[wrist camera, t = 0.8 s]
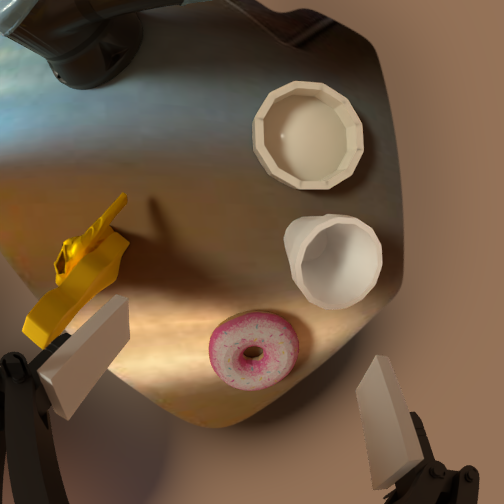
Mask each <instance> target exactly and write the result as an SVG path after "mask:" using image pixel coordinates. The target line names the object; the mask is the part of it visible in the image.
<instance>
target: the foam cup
mask: <svg viewBox="0 0 504 504" xmlns="http://www.w3.org/2000/svg"><path fill="white" fill-rule="evenodd" d="M284 244H285V249H286V253H287V256H288V259H289V263H290V267H291V273H292V279H293V280H294V282H295V283H296V285H297V286H298V287H299V289H300V290H301V291H302V293H303V294H304V296H305V297H306V298H307V300H308V301H309V302H310V303H313V304H315V305H317V306H319V307H321V308H324V309H326V310H329V309H345V308H347V307H349V306H351V305H353V304H355V303H357V302H359V301H361V300H363V298H364V297H365V296H366V295H367V294H368V293H369V292H370V290H371V289H372V288H373V287H374V286H375V284H376V282H377V279H378V277H379V274H380V271H381V268H382V247H381V244H380V242H379V240H378V238H377V236H376V234H375V233H374V231H373V229H372V228H371V227H369V226H368V225H366V224H365V223H363V222H362V221H360V220H358V219H357V218H354V217H351V216H348V215H335V214H327V215H324V216H309V217H301V218H299V219H296V220H294V221H293V222H292V223H291V224H290V225H289V226H288V228H287V229H286V232H285V236H284Z"/></svg>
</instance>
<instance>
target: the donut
mask: <svg viewBox="0 0 504 504" xmlns="http://www.w3.org/2000/svg"><path fill="white" fill-rule="evenodd" d="M252 346H257V347H260V348H262V349H263V353H262V354H261V355H260V356H258V357H254V358H250V357H246V356H245V355H244V354H243V352H244V351H245V350H246V349H247V348H248V347H252ZM298 353H299V341H298V338H297V334H296V333H295V331H294V329H293V328H292V326H291V324H289V323H288V322H287V321H286V320H285V319H284V318H282V317H280V316H279V315H277V314H273V313H270V312H264V311H247V312H243V313H238V314H236V315H234V316H231V317H229V318H228V319H226V320H225V321H223V322H222V323H220V324H219V325H218V326H217V328H216V329H215V330H214V331H213V333H212V335H211V337H210V342H209V358H210V362H211V365H212V367H213V369H214V371H215V372H216V374H217V375H218V376H219V377H220V378H221V379H222V380H223V381H224V382H226V383H227V384H229V385H230V386H232V387H234V388H237V389H241V390H248V391H251V390H260V389H264V388H267V387H270V386H272V385H274V384H276V383H278V382H279V381H281V380H282V379H283V378H284V377H286V376H287V375H288V374H289V372H290V371H291V370H292V369H293V367H294V365H295V363H296V360H297V358H298Z"/></svg>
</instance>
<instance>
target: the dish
mask: <svg viewBox="0 0 504 504" xmlns="http://www.w3.org/2000/svg"><path fill="white" fill-rule="evenodd" d="M252 130H253V131H252V141H253V150H254V153H255V154H256V156H257V158H258V160H259V162H260V164H261V165H262V166H263V168H264V169H265V170H266V172H267V173H268V175H270V176H271V177H273V178H275V179H276V180H278V181H279V182H281V183H283V184H286V185H288V186H289V187H291V188H293V189H330V188H332V187H333V186H335V185H337V184H338V183H340V182H341V181H343V180H345V179H346V178H348V177H350V176H351V175H352V174H353V172H354V170H355V168H356V166H357V164H358V162H359V160H360V158H361V156H362V154H363V152H364V145H363V128H362V122H361V121H360V119H359V117H358V116H357V114H356V112H355V110H354V109H353V107H352V105H351V104H350V102H349V101H348V99H347V98H345V97H344V96H342V95H341V94H339V93H338V92H336V91H335V90H333V89H331V88H330V87H328V86H327V85H325V84H323V83H315V82H303V81H293V82H291V83H289V84H287V85H285V86H283V87H280V88H278V89H276V90H274V91H272V92H270V93H269V94H268V96H267V98H266V99H265V101H264V103H263V104H262V106H261V108H260V109H259V111H258V113H257V114H256V116H255V118H254V120H253V122H252Z"/></svg>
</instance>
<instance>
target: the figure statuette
mask: <svg viewBox="0 0 504 504" xmlns="http://www.w3.org/2000/svg"><path fill="white" fill-rule="evenodd" d="M126 204H127V195H126V194H125V193H122V194H121V195H120V196H119V197H118V198H117V199H116V200H115V201H114V203H113V204H112V205H111V206H110V207H109V208H108V209H107V210H106V211H105V212H104V214H103V215H102V216H101V217H100V218H98V219H97V220H96V221H95V222H94V224H93V225H92V226H91V227H89V228H88V229H87V231H86V232H85V234H83V235H81V236H76V237H72V238H69V239H67V240H66V241H64V244H63V245H62V249H61V252H60V253H59V255H58V257H57V260H56V262H54V266H55V270H56V272H57V274H56V281H55V282H56V284H57V285H58V286H59V287H58V288H56V289H53V290H51V291H49V292H47V293H46V294H45V295H44V296H43V297H42V298H41V299H40V300H39V301H38V303H37V304H36V305H35V306H34V307H33V309H32V310H31V311H30V312H29V313H28V315H27V317H26V320H25V323H24V326H23V329H22V332H23V333H24V334H25V335H26V336H27V337H29V338H30V339H31V340H32V341H33V342H34V343H36V344H37V345H38V346H39V347H40V348H41V349H43V350H44V349H45V348H46V347H47V346H48V345H49V344H50V343H51V342H52V341H53V340H54V339H55V338H56V337H58V336H59V335H60V334H61V333H62V332H63V330H64V329H65V328H66V326H67V325H68V324H69V323H70V321H71V320H72V319H73V318H74V316H75V315H76V314H77V313H78V311H79V310H80V309H81V308H82V307H83V306H84V305H85V304H86V303H87V302H89V301H90V300H91V299H92V298H93V297H94V296H95V295H96V294H97V293H99V292H100V291H102V290H103V289H104V288H106V287H107V286H109V285H110V284H112V283H113V282H114V281H115V280H116V279H117V276H118V272H119V266H120V261H121V257H122V255H123V253H124V252H125V250H126V249H127V247H128V246H129V244H130V242H128V241H127V240H126V239H125V238H123V237H122V236H121V235H120V234H119V233H117V232H114V231H113V229H112V227H111V226H109V224H110V223H111V222H112V220H113V219H114V218H115V216H116V215H117V214H118V213H119V212H120V211H121V210H122V208H123V207H124V206H125V205H126Z"/></svg>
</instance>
